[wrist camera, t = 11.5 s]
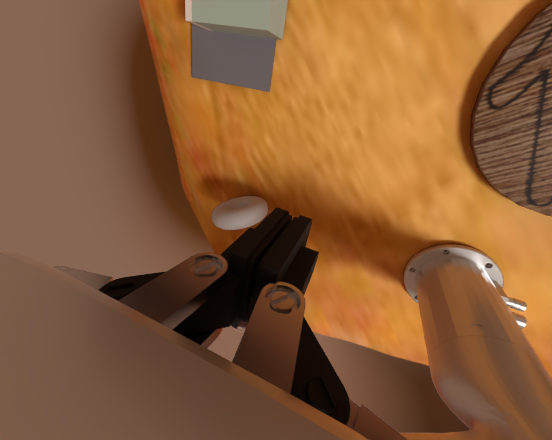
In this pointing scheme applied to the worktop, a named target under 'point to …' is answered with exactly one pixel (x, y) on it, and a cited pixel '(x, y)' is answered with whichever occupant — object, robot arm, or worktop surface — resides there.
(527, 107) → the trivet
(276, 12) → the sage block
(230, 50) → the charcoal mat
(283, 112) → the worktop surface
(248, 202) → the donut
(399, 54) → the worktop surface
